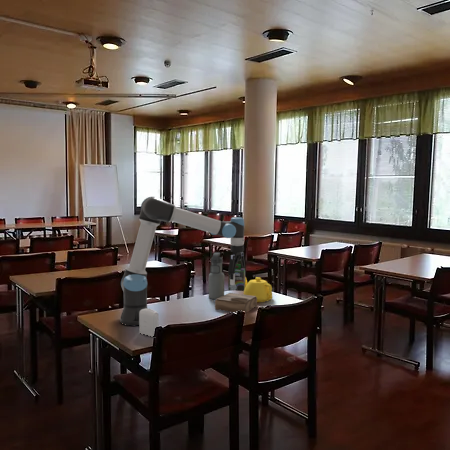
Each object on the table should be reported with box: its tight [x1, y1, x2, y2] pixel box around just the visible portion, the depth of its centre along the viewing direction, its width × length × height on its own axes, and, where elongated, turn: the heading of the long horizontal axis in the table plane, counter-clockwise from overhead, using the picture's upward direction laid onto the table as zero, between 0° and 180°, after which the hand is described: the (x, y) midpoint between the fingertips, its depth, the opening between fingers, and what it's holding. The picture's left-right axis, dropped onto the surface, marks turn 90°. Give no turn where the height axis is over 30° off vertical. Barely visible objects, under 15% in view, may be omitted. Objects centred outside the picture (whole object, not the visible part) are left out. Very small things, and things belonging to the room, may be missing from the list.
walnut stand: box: [214, 292, 258, 313], centre depth 263 cm, size 18×18×6 cm
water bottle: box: [208, 252, 225, 300], centre depth 285 cm, size 10×10×28 cm
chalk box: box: [227, 263, 246, 292], centre depth 262 cm, size 9×9×15 cm
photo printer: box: [138, 307, 160, 338], centre depth 214 cm, size 10×4×12 cm, turn 54°
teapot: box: [243, 276, 274, 303], centre depth 284 cm, size 25×18×14 cm
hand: (236, 283), depth 262 cm, fingers closed on chalk box, 11 cm apart
